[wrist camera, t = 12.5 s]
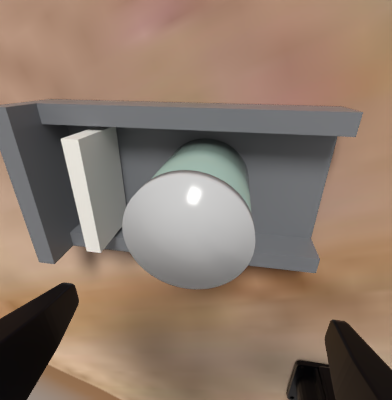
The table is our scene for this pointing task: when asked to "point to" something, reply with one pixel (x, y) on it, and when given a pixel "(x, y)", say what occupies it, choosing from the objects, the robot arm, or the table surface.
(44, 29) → the table surface
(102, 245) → the plate
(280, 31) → the table surface
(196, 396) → the table surface
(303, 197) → the pusher lane
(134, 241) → the jar
